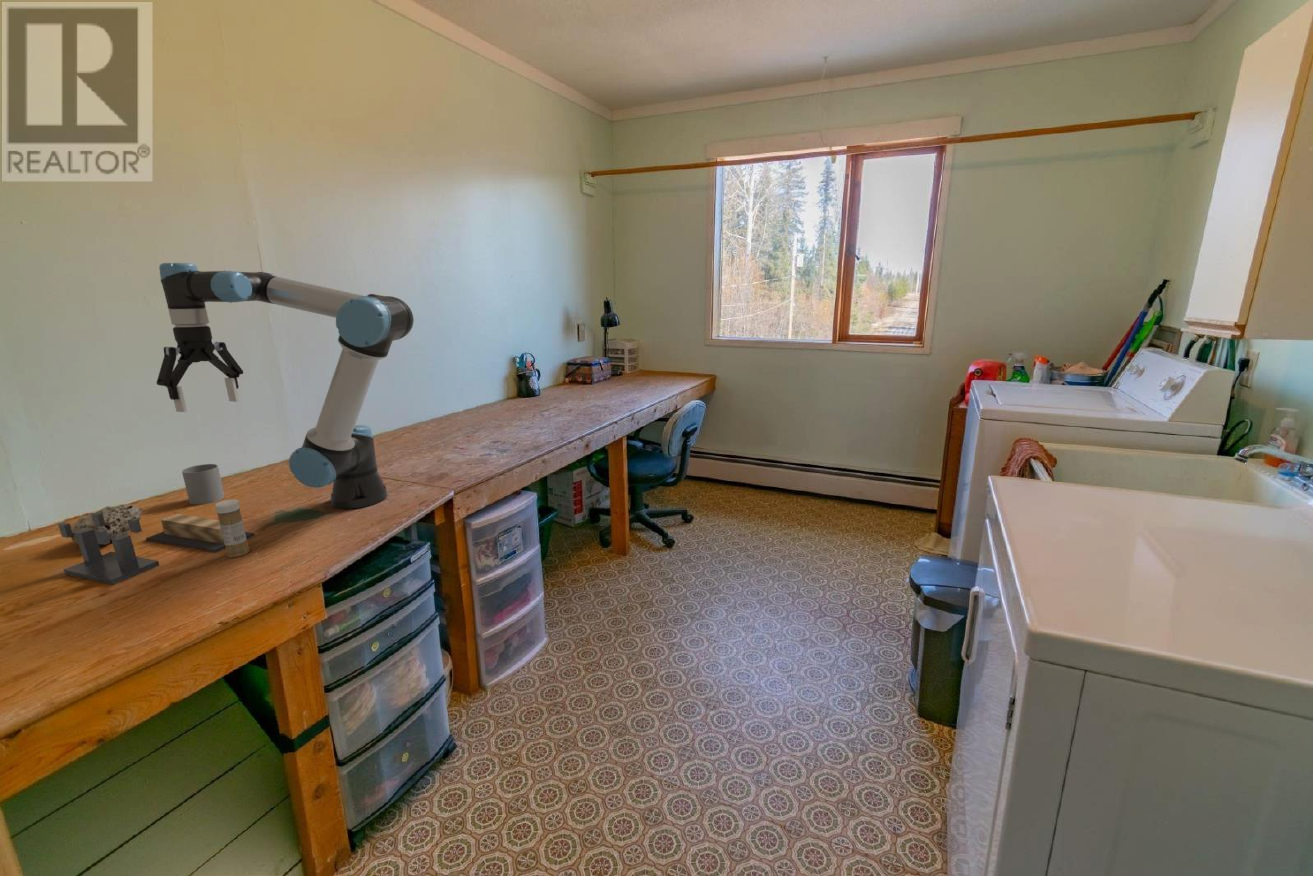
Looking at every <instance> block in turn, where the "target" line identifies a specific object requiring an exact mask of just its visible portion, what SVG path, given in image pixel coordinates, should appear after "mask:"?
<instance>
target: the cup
mask: <svg viewBox="0 0 1313 876" xmlns="http://www.w3.org/2000/svg"><path fill="white" fill-rule="evenodd" d="M219 469H220V468H219V465H217V464H216V463H206V464H205V463H204V464H199V465H193V466H189V467H186V468H185V469H183V470H182V471H181V474H182V476H183V482H184V485H185V490H186V494H187V499H188V501H189V504H190V505H193V506H194V505H197V506H199V505H207V504H212V503H215V502H220V500H221V501H222V500H223V499H224V498H225V492H224V491H225V490H224V487H223V486H224V485H223V483H222V477H221V473H220V470H219Z"/></svg>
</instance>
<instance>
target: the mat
mask: <svg viewBox="0 0 1313 876" xmlns="http://www.w3.org/2000/svg"><path fill="white" fill-rule="evenodd" d="M245 534H246V540H247V539H249V538H252V537H254V536H255V535H256V533H255V532H249V531H245ZM145 539H146V541H149V542H150V541H151V542H155V543H159V544H160V543H161V544H167V545H171V546H178V547H184V548H190V549H194V550H201V551H207V552H211V553H218V552H220V551H222V550H224V549H225V550H226V547H225V544H224V543H222V544H220V543H215V542H209V541H203V540H197V539H191V538H185V537H179V536H174V535H168V534H165V533H164V530H163V531H162V532H158V533H156V534H153V535H150V536H148V537H146V538H145Z"/></svg>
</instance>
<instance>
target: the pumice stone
mask: <svg viewBox="0 0 1313 876" xmlns="http://www.w3.org/2000/svg"><path fill="white" fill-rule="evenodd" d="M96 512H98V513H103V517H104V520H105V524H106V525H105V526H102V527H99V526H95V525H94V521H93V518H92V515H91V514H92V513H90V514H87V515H85V516H82V517H80V518H79V519H78V520H77V521H75V522H74V523H73V524H72V525H70V526H71V529H72V532H73V536H72V537H69V538H70V539H71V541H72V542H75V543H77V544H78V541H77V538H76V534H75V532H78V531H81V530H84V529H87V528H90V529H94V531H96V530H99V529H104V530H107V533H108V536H109V539H110V541H112V540H111V539H113V538H115V537H118V536H121V535H126V534H127V532H129V531H130V528H129V524H128V519H131V518H135V519H139V522H140V521H141V519H142V517H143V514H142V512H143V508H142V507H138V506H136V505H133V504H132V505H131V504H119V505H116V506H105V507H103V508H101V509H100V510H97V511H96ZM95 535H96V533H95ZM96 538H97V537H96ZM97 541H98V540H97ZM98 545H100V544H99V543H98Z"/></svg>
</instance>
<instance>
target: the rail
mask: <svg viewBox="0 0 1313 876" xmlns="http://www.w3.org/2000/svg"><path fill="white" fill-rule="evenodd" d="M160 521H161V525H162V529H163V531H164V533H165V534H168V535H174V536H179V537H185V538H191V539H197V540H203V541H209V542H215V543H220V544H222V543H224V540H223V536H222V532H221V527H220V522H219V519H214V518H208V517H206V518H205V517H202V516H201V517H200V516H193V515H187V514H180V513H176V514H173V515H170V516H168V517H165V518H162V519H160Z"/></svg>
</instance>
